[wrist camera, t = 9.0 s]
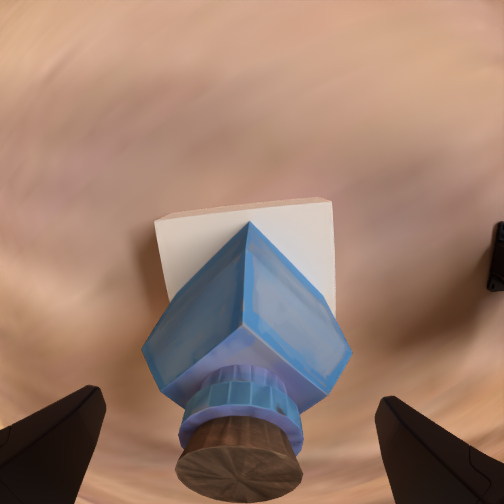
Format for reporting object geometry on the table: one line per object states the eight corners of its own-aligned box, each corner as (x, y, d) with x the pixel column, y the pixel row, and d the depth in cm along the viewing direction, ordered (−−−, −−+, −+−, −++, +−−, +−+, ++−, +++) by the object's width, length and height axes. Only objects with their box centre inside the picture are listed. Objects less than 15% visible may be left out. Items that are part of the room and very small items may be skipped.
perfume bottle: (176, 293, 17) (82, 451, 6) (249, 220, 16) (232, 339, 4) (249, 356, 18) (241, 530, 7) (323, 295, 17) (402, 461, 6)
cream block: (317, 196, 20) (331, 201, 16) (323, 326, 22) (334, 355, 18) (172, 212, 20) (154, 221, 16) (196, 338, 23) (186, 367, 19)
